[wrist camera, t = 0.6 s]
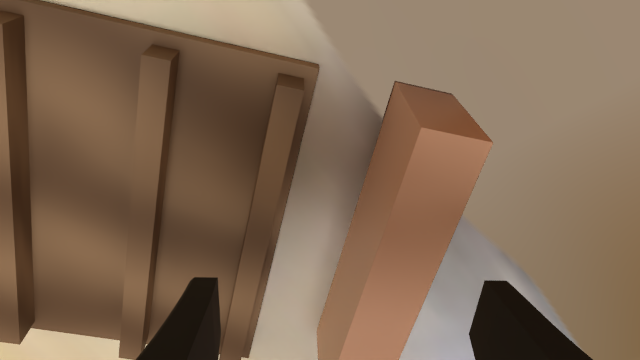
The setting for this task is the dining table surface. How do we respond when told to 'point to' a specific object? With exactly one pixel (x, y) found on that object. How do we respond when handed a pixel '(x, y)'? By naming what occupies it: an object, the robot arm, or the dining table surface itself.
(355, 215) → the clay block
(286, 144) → the rack
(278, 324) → the dining table surface
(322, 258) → the dining table surface
